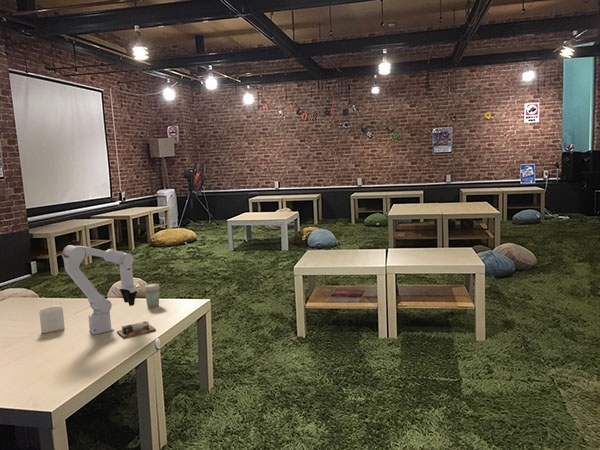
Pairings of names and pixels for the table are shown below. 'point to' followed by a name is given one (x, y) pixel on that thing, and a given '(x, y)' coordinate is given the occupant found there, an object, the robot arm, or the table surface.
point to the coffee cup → (152, 295)
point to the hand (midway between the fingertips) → (129, 303)
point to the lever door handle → (135, 327)
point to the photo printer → (51, 318)
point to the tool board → (136, 332)
